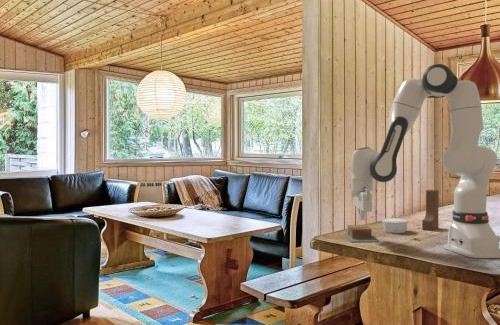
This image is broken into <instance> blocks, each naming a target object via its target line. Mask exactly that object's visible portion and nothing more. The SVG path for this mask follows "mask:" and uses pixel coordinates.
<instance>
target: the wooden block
mask: <svg viewBox="0 0 500 325" xmlns="http://www.w3.org/2000/svg"><path fill="white" fill-rule="evenodd" d="M439 194H440V192H439V190H438V189H427V190H425V216H424V218H423V219H422V220H421V221H422V222H421V224H422V225H421V227H422V228H421V229H422V230H423V231H430V230H432V231H434V230H437V229H438V228H439Z"/></svg>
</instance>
